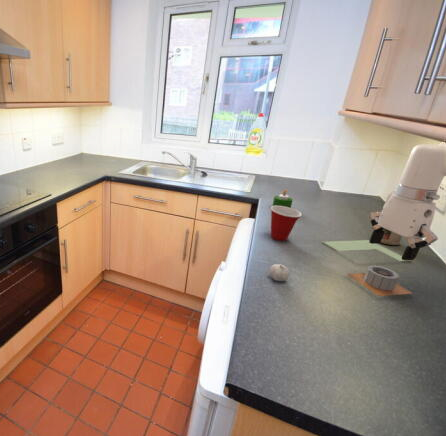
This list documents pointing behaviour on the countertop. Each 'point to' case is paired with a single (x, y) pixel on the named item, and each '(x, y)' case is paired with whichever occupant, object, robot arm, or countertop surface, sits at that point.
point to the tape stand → (379, 292)
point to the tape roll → (381, 278)
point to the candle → (282, 200)
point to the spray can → (390, 236)
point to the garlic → (279, 272)
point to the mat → (361, 247)
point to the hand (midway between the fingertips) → (390, 250)
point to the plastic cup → (282, 221)
